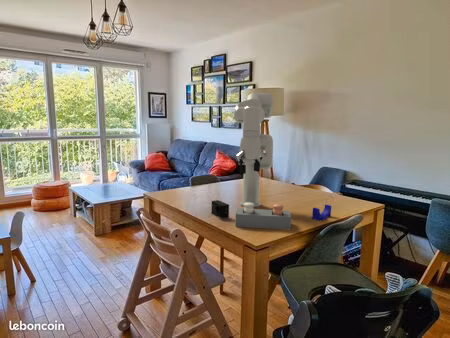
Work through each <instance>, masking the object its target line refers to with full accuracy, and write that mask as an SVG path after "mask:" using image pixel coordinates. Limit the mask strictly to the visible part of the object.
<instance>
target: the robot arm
mask: <svg viewBox="0 0 450 338" xmlns="http://www.w3.org/2000/svg"><path fill="white" fill-rule="evenodd" d="M273 111H274V97H273V95H272V93H269V92H252V93H250V94H248V95H247V97H246V100H243V101H240V102H238V103H237V104H236V105H235V108H234V111H233V118H234V121H235V122H236V123H238V124H242V137H241V138H240V143H239V152H238V153H237V154H236V155H235V157H236V160H237V163H238V165H239V173H240V174H243V177H242V179H243V184H242V200H241V201H240V202H239V205H240V206H243V207H244V203H247V202H250V203H254V207H253V208H257V207H261V205H262V203H261V201H259V200H260V174H259V172H260V171H261V170H269V169H271V168H272V166H273V161H274V160H273V159H274V155H273V154H274V139H273V136H272V135H271V134H267V133H266V134H264V133H261V131H262V129H261V127H262V125H261V123H262V122H263V121H264V120H265V119H269V118H271V117H273V114H274V113H273Z"/></svg>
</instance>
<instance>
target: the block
mask: <svg viewBox="0 0 450 338" xmlns="http://www.w3.org/2000/svg"><path fill="white" fill-rule="evenodd" d="M234 227H243V228H257V229H258V228H259V229H273V230H274V229H275V230H290V231H291V228H292V215H291V212H290V210H283V211H282V215H273V209H258V208H253V214H250V213H244V208H241V207H237V208H236V212H235V224H234Z"/></svg>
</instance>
